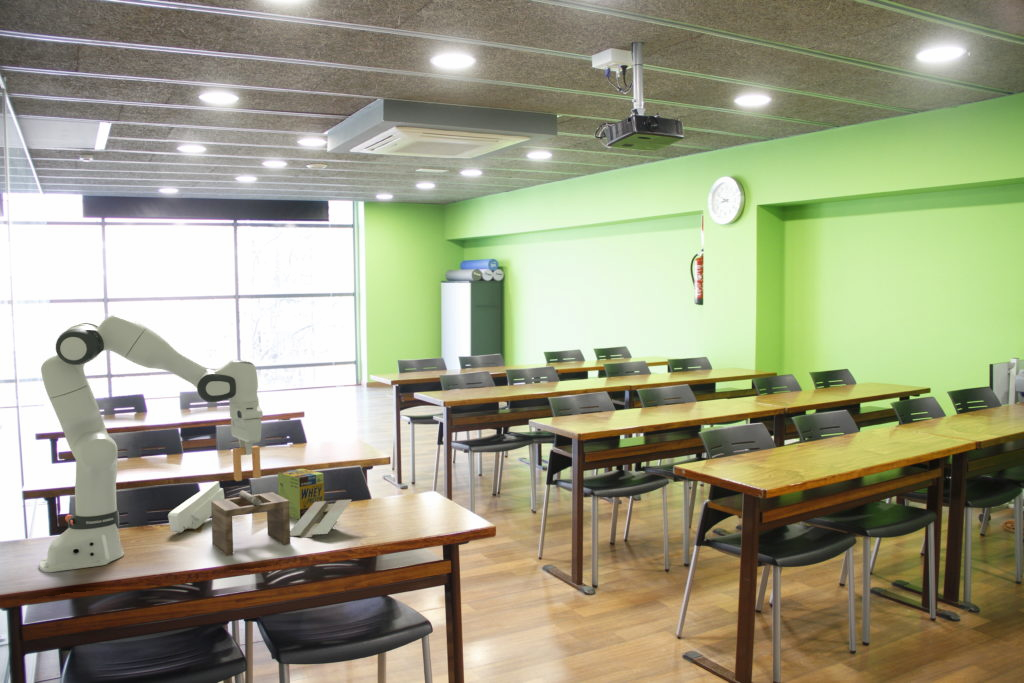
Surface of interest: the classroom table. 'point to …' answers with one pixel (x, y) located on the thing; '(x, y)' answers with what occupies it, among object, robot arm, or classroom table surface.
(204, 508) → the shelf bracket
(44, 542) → the classroom table surface
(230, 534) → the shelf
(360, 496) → the classroom table surface
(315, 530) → the slanted grey stand
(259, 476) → the orange u-frame
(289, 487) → the protein box
